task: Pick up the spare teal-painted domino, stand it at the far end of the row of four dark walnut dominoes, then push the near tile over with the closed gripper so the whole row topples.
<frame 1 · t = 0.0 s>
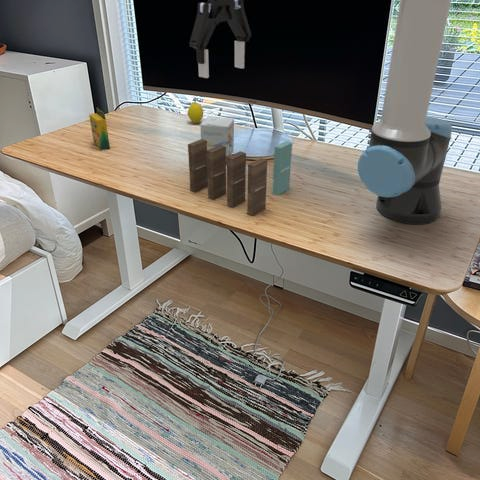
hand: (222, 72, 124), 28 cm above the table, fingers open, 13 cm apart
domino 1: (256, 211, 119), on the table
domino 2: (236, 203, 123), on the table
crayon box: (102, 146, 156), on the table
domino 5: (280, 191, 129), on the table
domino 3: (217, 195, 127), on the table
domino 4: (199, 188, 130), on the table
fruit: (196, 123, 176), on the table
ink box: (218, 158, 148), on the table
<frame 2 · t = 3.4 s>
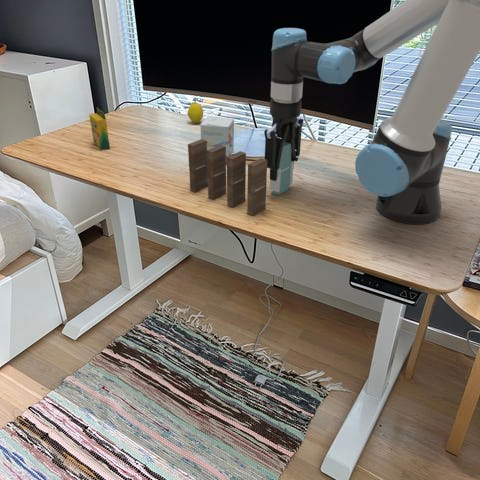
hand: (281, 186, 128), 1 cm above the table, fingers closed on domino 5, 5 cm apart
domino 5: (280, 191, 129), on the table, touching gripper
everything else where it was.
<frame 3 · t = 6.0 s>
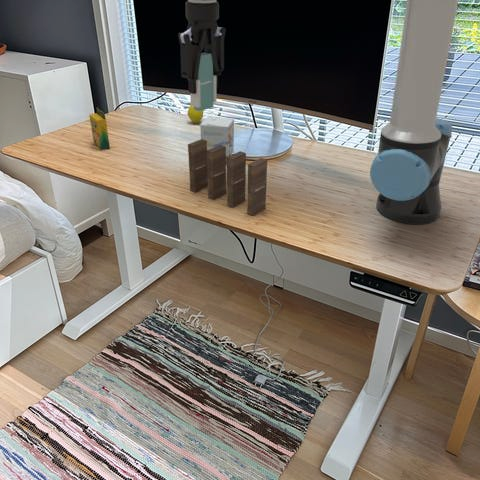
hand: (203, 103, 121), 22 cm above the table, fingers closed on domino 5, 5 cm apart
domino 5: (203, 108, 122), point 21 cm above the table, touching gripper
everything else where it was.
when the fingers open (2 cm above the table, at t = 9.0 s): domino 5 stays where it is, on the table.
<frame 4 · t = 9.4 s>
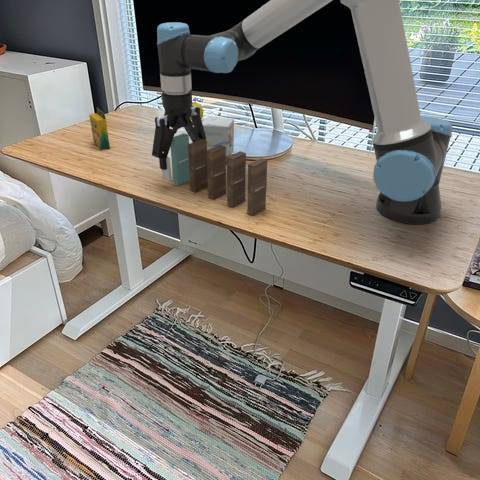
hand: (181, 173, 132), 3 cm above the table, fingers open, 10 cm apart
domino 5: (182, 181, 134), on the table
everything else where it was.
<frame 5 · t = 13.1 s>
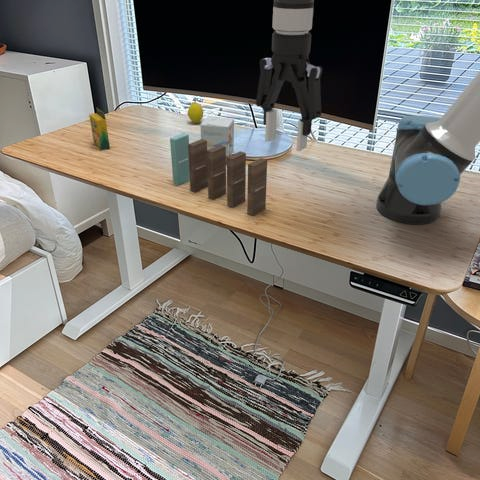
hand: (285, 144, 105), 19 cm above the table, fingers open, 8 cm apart
nothing on the table moved.
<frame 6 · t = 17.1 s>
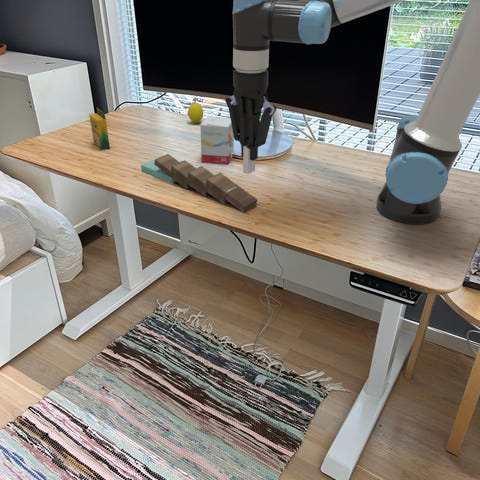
hand: (249, 171, 116), 10 cm above the table, fingers closed
domino 1: (250, 205, 120), point 1 cm above the table, tilted 73°, touching domino 2
domino 2: (230, 198, 124), point 1 cm above the table, tilted 73°, touching domino 1, domino 3
domino 5: (179, 177, 134), point 1 cm above the table, tilted 89°, touching domino 4
domino 3: (212, 191, 127), point 1 cm above the table, tilted 73°, touching domino 2, domino 4
domino 4: (194, 183, 131), point 1 cm above the table, tilted 73°, touching domino 3, domino 5
everything else where it was.
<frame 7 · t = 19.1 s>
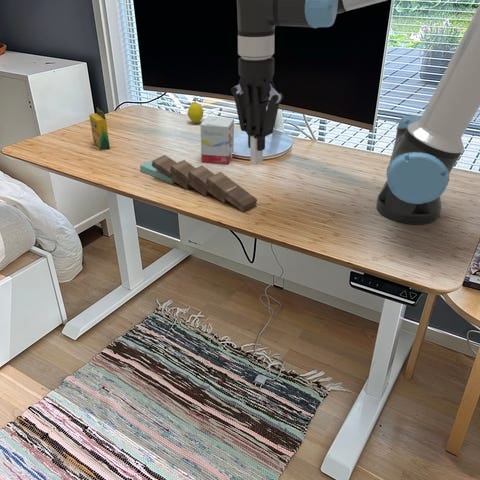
hand: (256, 162, 113), 13 cm above the table, fingers closed
domino 4: (193, 183, 131), point 1 cm above the table, tilted 74°, touching domino 3, domino 5
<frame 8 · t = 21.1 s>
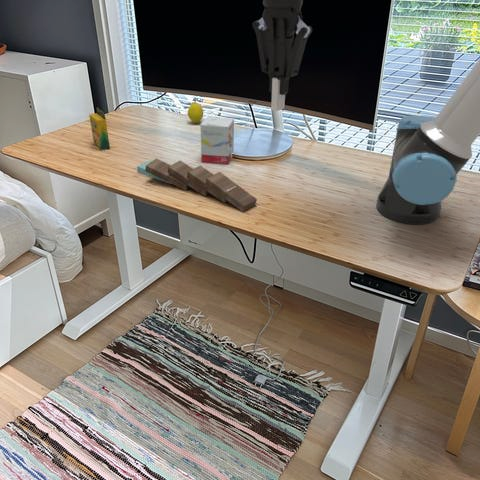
hand: (277, 108, 103), 26 cm above the table, fingers closed
domino 5: (176, 178, 134), point 1 cm above the table, tilted 89°
domino 4: (191, 184, 130), point 1 cm above the table, tilted 76°, touching domino 3
at the end: domino 5 tilted 89°; domino 1 tilted 73°; the gripper is holding nothing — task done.
